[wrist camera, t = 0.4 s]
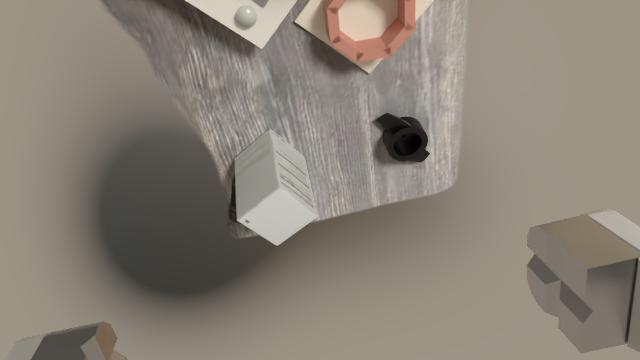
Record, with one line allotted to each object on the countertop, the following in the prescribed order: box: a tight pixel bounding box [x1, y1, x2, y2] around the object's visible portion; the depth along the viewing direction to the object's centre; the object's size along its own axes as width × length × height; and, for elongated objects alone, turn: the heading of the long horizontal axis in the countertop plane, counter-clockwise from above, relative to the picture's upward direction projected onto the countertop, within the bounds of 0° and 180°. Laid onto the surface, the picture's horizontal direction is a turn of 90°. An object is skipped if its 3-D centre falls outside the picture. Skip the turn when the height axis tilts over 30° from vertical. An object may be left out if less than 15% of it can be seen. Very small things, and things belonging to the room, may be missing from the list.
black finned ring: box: [377, 113, 430, 162], centre depth 68 cm, size 8×10×3 cm
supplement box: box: [234, 129, 318, 245], centre depth 63 cm, size 7×7×13 cm
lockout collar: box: [294, 0, 434, 74], centre depth 54 cm, size 12×12×3 cm
